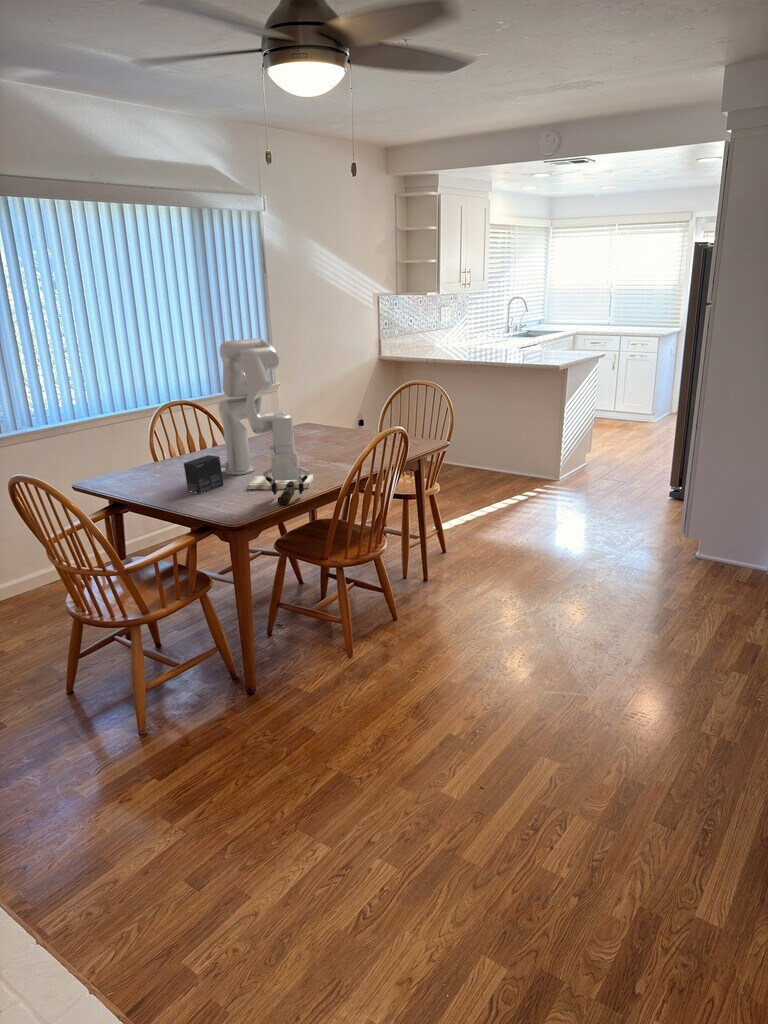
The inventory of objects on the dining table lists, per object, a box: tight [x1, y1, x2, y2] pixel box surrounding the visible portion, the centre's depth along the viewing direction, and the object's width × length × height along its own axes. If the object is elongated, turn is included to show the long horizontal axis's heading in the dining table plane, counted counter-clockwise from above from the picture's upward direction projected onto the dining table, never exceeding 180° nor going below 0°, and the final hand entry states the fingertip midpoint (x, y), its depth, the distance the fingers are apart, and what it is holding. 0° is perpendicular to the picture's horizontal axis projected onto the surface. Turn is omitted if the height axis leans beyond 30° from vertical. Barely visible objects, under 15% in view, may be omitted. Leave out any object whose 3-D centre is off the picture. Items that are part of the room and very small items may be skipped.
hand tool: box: [277, 481, 295, 507], centre depth 263 cm, size 19×4×5 cm, turn 174°
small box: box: [183, 454, 224, 494], centre depth 279 cm, size 13×7×12 cm, turn 147°
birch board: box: [247, 474, 314, 491], centre depth 281 cm, size 24×12×2 cm, turn 88°
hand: (288, 493), depth 263 cm, fingers open, 9 cm apart
